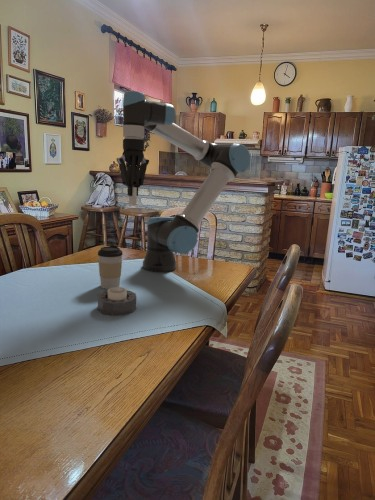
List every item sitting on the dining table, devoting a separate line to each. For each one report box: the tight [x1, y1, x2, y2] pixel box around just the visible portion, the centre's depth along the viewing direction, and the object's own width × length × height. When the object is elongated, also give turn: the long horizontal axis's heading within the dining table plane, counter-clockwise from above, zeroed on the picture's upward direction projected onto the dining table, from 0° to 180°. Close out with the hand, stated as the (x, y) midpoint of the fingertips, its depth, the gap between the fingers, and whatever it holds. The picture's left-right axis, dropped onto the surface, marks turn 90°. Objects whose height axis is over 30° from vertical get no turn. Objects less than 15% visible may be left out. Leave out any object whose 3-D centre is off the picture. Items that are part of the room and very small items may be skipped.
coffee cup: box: [97, 245, 123, 290], centre depth 133 cm, size 9×9×15 cm
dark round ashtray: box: [97, 289, 137, 316], centre depth 114 cm, size 12×12×4 cm
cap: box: [107, 286, 128, 300], centre depth 114 cm, size 6×6×6 cm
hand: (132, 204), depth 132 cm, fingers closed
